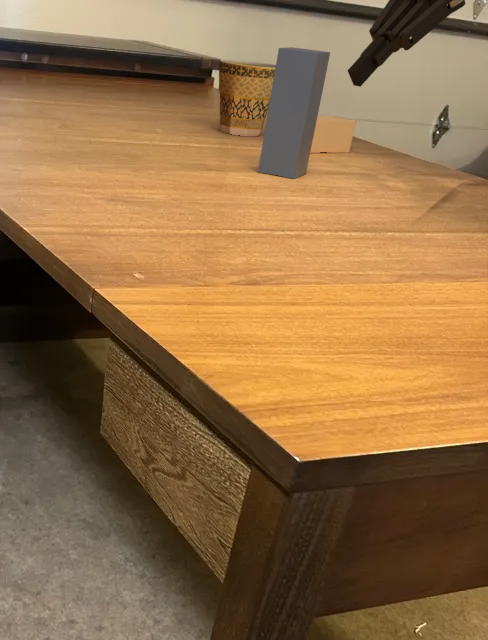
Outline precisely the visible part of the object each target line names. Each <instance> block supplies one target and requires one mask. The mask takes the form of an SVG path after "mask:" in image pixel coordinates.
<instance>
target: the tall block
mask: <svg viewBox="0 0 488 640" xmlns="http://www.w3.org/2000/svg"><path fill="white" fill-rule="evenodd" d="M356 124H357V120H356V119H351V118H347V117H343V116H339V115H322V114H321V115H319V114H318V116H317V121H316V126H315V131H314V136H313V141H312V146H311V151H310V154H321V153H320V152H327V153H326V154H336V153H337V154H343V153H344V154H347V153H348V154H349V153H350V150H351V146H352V143H353V136H354V132H355V129H356Z"/></svg>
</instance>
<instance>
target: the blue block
mask: <svg viewBox="0 0 488 640" xmlns="http://www.w3.org/2000/svg"><path fill="white" fill-rule="evenodd" d="M330 56H331V51H324V50H316V49H315V50H314V49H307V48H300V47H278V51H277V56H276V62H275V65H276V68H275V74H274V79H273V85H272V91H271V97H270V103H269V108H268V111H267V114H266V121H265V126H264V127H265V128H264V132H263V133H264V134H263V139H262V143H261V144H262V145H261V150H260V156H259V162H258V168H257V173H261V174H265V175H270V174H271V176H276V175H278V176H277V177H281V176H283V177H282V178H287V179H292V180H294V179H297V178H299V177H302V176H304V175H307V171H308V166H309V161H310V155H311V153H310V151H311V146H312V141H313V136H314V131H315V126H316V121H317V116H318V115H319V111H320V105H321V100H322V96H323V91H324V87H325V81H326V76H327V71H328V66H329V61H330Z"/></svg>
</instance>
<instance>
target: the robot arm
mask: <svg viewBox="0 0 488 640" xmlns="http://www.w3.org/2000/svg"><path fill="white" fill-rule="evenodd" d="M466 4H467V3H466V0H388V1H387V3H385V6H384V7H383V9H382V11H381V12H380V14H379V15H378V16H377V18H376V20H375V21H374V22H373V24H372V25H371V26H370V28H369V31H368V33H369V35H370V37H371V42H370V43H369V44H368V45H367V46H366V48H365V49H364V50H363V51H362V52H361V53H360V55H359V57H358V58H357V59H356V60H355V61H354V63H352V65H350V67H349V68H348V69H347V73H348V75H349V79H350V80H351V83H352V84H353V86H356V87H360V88H361V87H362V86H363V84H365V82H366V81H368V79H369V78H370V77H371V76H372V75H373V74H374V72H376V70H377V69H378V68H380V67H381V66H382V65H384V64H385V62H386V61H387V60H388V59H389V58H390V57H391V55H393V53H397V52H398V51H400V49H403V50H404V51H409V50H411V49H412V48H413V47H414V46H415V45H416V44H418V43H419V42H420V41H421V40H422V39H423V38H425V36H427V35H428V34H430V32H432V31H434V29H435V28H437V26H439V25H440V24H441V23H443V21H445V20H446V19H447V18H448V17H450V15H452V14H454V13H455V12H457V11H458V10H460V9H462V8H463V7H464V6H465V5H466Z"/></svg>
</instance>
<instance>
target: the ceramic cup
mask: <svg viewBox="0 0 488 640" xmlns="http://www.w3.org/2000/svg"><path fill="white" fill-rule="evenodd" d="M218 63H219V64H218V85H219V86H218V88H219V130H220V133H224V134H228V135H231V134H232V135H231V136H238V135H240V136H239V137H259V136H260V134H261V133H262V130H263V127H264V124H265V122H266V121H265V120H266V119H267V115H268V109H269V103H270V97H271V91H272V85H273V79H274V74H275V68H276V64H272V63H265V62H258V61H250V60H241V59H240V60H239V59H220V60H219V61H218Z"/></svg>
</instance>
